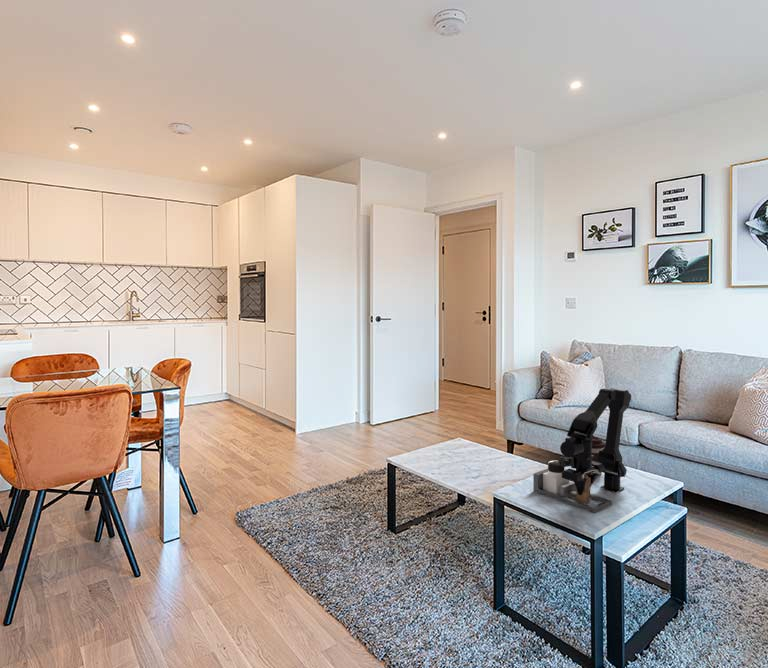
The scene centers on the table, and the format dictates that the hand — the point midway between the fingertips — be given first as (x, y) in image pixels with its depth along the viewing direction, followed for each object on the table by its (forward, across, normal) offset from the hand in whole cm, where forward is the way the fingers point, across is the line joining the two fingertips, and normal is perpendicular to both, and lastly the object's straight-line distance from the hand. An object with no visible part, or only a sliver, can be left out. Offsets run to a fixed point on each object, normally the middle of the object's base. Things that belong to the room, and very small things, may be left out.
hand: (583, 493), depth 181 cm
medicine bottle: (+3, 0, -12) cm, 12 cm away
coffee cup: (+3, -31, -15) cm, 35 cm away
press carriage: (+3, 0, -3) cm, 4 cm away
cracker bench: (+3, 0, -5) cm, 6 cm away
